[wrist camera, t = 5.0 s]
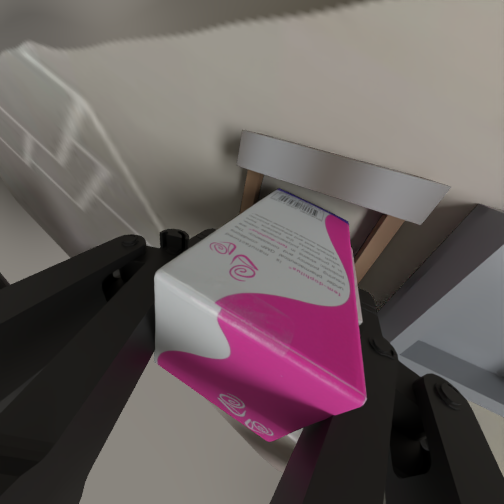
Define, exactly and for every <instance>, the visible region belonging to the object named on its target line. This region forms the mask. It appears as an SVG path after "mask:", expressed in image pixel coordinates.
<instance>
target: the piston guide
mask: <svg viewBox="0 0 504 504" xmlns="http://www.w3.org/2000/svg"><path fill="white" fill-rule="evenodd" d="M237 166H240V167H243V168H246V169H248V172H247V177H246V182H245V187H244V193H243V198H242V203H241V208H240V213H239V215H240V214H241V213H243V212H244V211H245V210H247V209H248V208H250V207H251V206H253V205H254V204H256V203H257V201H258V197H259V193H260V189H261V184H262V180H263V176H264V175H267V176H270V177H273V178H277V179H280V180H283V181H286V182H289V183H292V184H295V185H298V186H301V187H304V188H307V189H310V190H314V191H317V192H320V193H323V194H326V195H329V196H332V197H335V198H338V199H341V200H344V201H347V202H351V203H354V204H357V205H360V206H363V207H366V208H369V209H372V210H375V211H378V212H381V213H383V215H382V216H381V218H380V219H379V221H378V222H377V224H376V225H375V227H374V228H373V230H372V232H371V233H370V235H369V236H368V238H367V239H366V241H365V242H364V244H363V245H362V247H361V248H360V250H359V251H358V253H357V254H356V256H355V257H354V264H355V271H356V278H357V285H358V283H359V282H360V281H361V279H362V278H363V276H364V275H365V274H366V272H367V271H368V270H369V268H370V267H371V266H372V264H373V263H374V262H375V260H376V259H377V258H378V256H379V255H380V254H381V252H382V251H383V250H384V248H385V247H386V245H387V244H388V243H389V241H390V240H391V239H392V237H393V236H394V235H395V233H396V232H397V231H398V229H399V228H400V227H401V225H402V224H403V223H404V221H405V220H406V221H409V222H412V223H415V224H418V225H421V224H422V223H423V222H424V220H425V219H426V218H427V217H428V216H429V214H430V213H431V212H432V211H433V209H434V208H435V207H436V206H437V204H438V203H439V202H440V201H441V199H442V198H443V197H444V196H445V194H446V193H447V192H448V191H449V189H450V188H451V187H450V186H447V185H444V184H441V183H438V182H435V181H432V180H429V179H426V178H422V177H418V176H415V175H411V174H407V173H403V172H400V171H396V170H392V169H389V168H385V167H381V166H378V165H374V164H370V163H367V162H363V161H359V160H356V159H352V158H348V157H344V156H341V155H337V154H333V153H330V152H326V151H322V150H319V149H315V148H311V147H308V146H304V145H300V144H297V143H293V142H289V141H285V140H282V139H278V138H274V137H271V136H267V135H263V134H259V133H255V132H250V131H245V130H242V135H241V141H240V147H239V154H238V160H237Z"/></svg>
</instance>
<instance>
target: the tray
mask: <svg viewBox="0 0 504 504" xmlns="http://www.w3.org/2000/svg"><path fill="white" fill-rule="evenodd" d="M377 316H378V319H379V323H380V327H381V331H382V336H383V337H384V338H385V339H386V340H387V341H389V343H390V344H391V345H392V346H393V347H394V349H395V351H396V352H397V354H398V360H399V361H400V362H401V363H402V364H404V365H405V366H406V367H408V368H409V369H411V370H412V371H413V372H415V373H416V374H417V375H419V376H421V377H422V376H424V375H425V374H430V373H433V374H435V375H438V376H440V377H442V378H443V379H445V380H446V381H448V382H449V383H451V384H452V385H453V386H454V387H455V388H456V389H457V390H458V391H459V392H460V393H461V394H462V395H463V396H464V398H465V399H467V400H469V401H471V402H473V403H475V404H477V405H480V406H482V407H484V408H486V409H488V410H490V411H492V412H494V413H496V414H498V415H500V416H502V417H504V211H503V210H500V209H496V208H493V207H489V206H485V205H482V204H478V205H477V206H476V207H475V208H474V209H473V211H472V212H471V213H470V214H469V215H468V216H467V217H466V218H465V219H464V220H463V221H462V222H461V223H460V224H459V226H458V227H457V228H456V229H455V230H454V231H453V232H452V233H451V234H450V235H449V236H448V237H447V238H446V239H445V241H444V242H443V243H442V244H441V245H440V246H439V247H438V248H437V249H436V250H435V251H434V252H433V253H432V254H431V256H430V257H429V258H428V259H427V260H426V261H425V262H424V263H423V264H422V265H421V266H420V267H419V268H418V269H417V271H416V272H415V273H414V274H413V275H412V276H411V277H410V278H409V279H408V280H407V281H406V282H405V283H404V284H403V286H402V287H401V288H400V289H399V290H398V291H397V292H396V293H395V294H394V295H393V296H392V297H391V298H390V299H389V301H388V302H387V303H386V304H385V305H384V306H383V307H382V308H381V309H380V310H379V311H378V312H377Z"/></svg>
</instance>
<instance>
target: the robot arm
mask: <svg viewBox="0 0 504 504" xmlns="http://www.w3.org/2000/svg"><path fill="white" fill-rule="evenodd" d="M214 231H216V230H215V229H213V228H212V229H207V230H204V231H203V232H201V233H200V234H198V235H196V236H194V237H193V238H191V239H189V236H188V234H187V233H186V232H185V231H182V230H178V229H168V230H164V231H162V232H160V246H161V248H155V247H150V246H146V241H145V239H144V238H143V237H142V236H138V235H123V236H120V237H118V238H115V239H113V240H111V241H108V242H106V243H104V244H102V245H99V246H97V247H95V248H93V249H90V250H88V251H86V252H84V253H81V254H79V255H77V256H75V257H72V258H70V259H68V260H66V261H63V262H61V263H59V264H56V265H54V266H52V267H50V268H47V269H45V270H43V271H41V272H39V273H36V274H34V275H32V276H29V277H27V278H25V279H23V280H20V281H18V282H16V283H14V284H11V285H10V284H9V283H8V282H7V280H6V279H5V278H4V277H3V275H2V274H1V273H0V504H79V502H80V499H81V497H82V493H83V489H84V485H85V481H86V479H87V476H88V474H89V472H90V470H91V468H92V466H93V464H94V462H95V460H96V459H97V457H98V455H99V453H100V451H101V449H102V447H103V446H104V444H105V442H106V440H107V438H108V436H109V434H110V433H111V431H112V429H113V427H114V425H115V423H116V421H117V419H118V418H119V416H120V414H121V412H122V410H123V408H124V406H125V405H126V403H127V401H128V399H129V397H130V395H131V393H132V391H133V390H134V388H135V386H136V384H137V382H138V380H139V378H140V376H141V375H142V373H143V371H144V369H145V367H146V365H147V364H148V362H149V360H150V358H151V356H152V354H153V352H154V350H155V291H154V285H155V284H154V276H155V273H156V271H157V270H158V269H160V268H161V267H163V266H164V265H165V264H167V263H168V262H170V261H171V260H173V259H174V258H176V257H177V256H179V255H180V254H182V253H183V252H185V251H186V250H188V249H189V248H191V247H192V246H194V245H195V244H197V243H198V242H200V241H201V240H203V239H204V238H206V237H207V236H209V235H210V234H211V233H213V232H214ZM351 252H352V262H353V272H354V282H355V294H356V305H357V313H358V323H359V331H360V341H361V350H362V358H363V367H364V377H365V386H366V396H367V400H366V401H365V403H364V405H362V406H361V407H359V408H356V409H353V410H350V411H347V412H344V413H341V414H338V415H332V416H331V417H329V418H327V419H325V420H322V421H319V422H316V423H314V424H311V425H309V426H306V427H304V428H303V431H302V433H301V435H300V437H299V439H298V442H297V444H296V446H295V448H294V451H293V453H292V455H291V457H290V459H289V462H288V464H287V466H286V468H285V471H284V473H283V475H282V477H281V480H280V482H279V484H278V486H277V489H276V491H275V493H274V496H273V497H272V500H271V502H270V504H383V502H384V493H385V498H386V504H504V477H503V475H502V473H501V471H500V469H499V467H498V464H497V462H496V460H495V458H494V456H493V454H492V451H491V449H490V447H489V445H488V443H487V441H486V438H485V436H484V434H483V432H482V430H481V428H480V425H479V423H478V421H477V419H476V417H475V415H474V412H473V410H472V408H471V407H470V405H469V403H468V402H467V400H466V399H465V398H464V396H463V395H462V394H461V393H460V392H459V391H458V390H457V389H456V388H455V387H454V386H453V385H452V384H451V383H449V382H448V381H446V380H445V379H443V378H442V377H440V376H438V375H435V374H433V373H430V374H425V375H424V376H422V377H420V376H419V375H417V374H416V373H415V372H413V371H412V370H411V369H409V368H408V367H406V366H405V365H404V364H402V363H401V362H400V361H399V360H398V354H397V352H396V351H395V349H394V347H393V346H392V345H391V344H390V343H389V341H387V340H386V339H385V338H384V337H383V336H382V331H381V327H380V323H379V319H378V316H377V311H376V306H375V302H374V300H373V298H372V297H371V295H370V294H369V293H368V292H366V291H364V290H361V289H359V288H358V285H357V278H356V271H355V264H354V257H353V250H352V248H351ZM426 438H427V442H428V446H429V450H428V447H427V445H426V441H425V439H426Z"/></svg>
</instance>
